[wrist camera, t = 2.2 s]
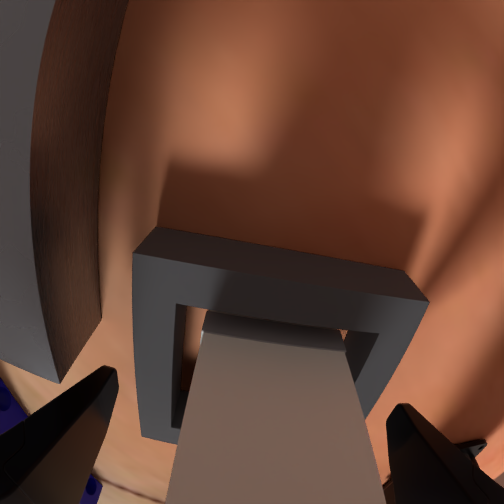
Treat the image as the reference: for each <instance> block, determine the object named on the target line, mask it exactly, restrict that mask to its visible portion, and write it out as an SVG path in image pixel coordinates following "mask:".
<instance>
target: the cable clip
mask: <svg viewBox="0 0 504 504" xmlns="http://www.w3.org/2000/svg"><path fill="white" fill-rule="evenodd" d="M27 417H28V416H27V415H26V413H25V412H24V411H23V409H22V408H21V407H20V405H19V404H18V403H17V401H16V400H15V398H14V397H13V396H12V394H11V393H10V391H9V390H8V388H7V387H6V385H5V384H4V382H3V381H2V379H1V378H0V435H1V434H2V433H4V432H6V431H7V430H9V429H10V428H12V427H14V426H15V425H17V424H18V423H19V422H21V421H24V419H26V418H27ZM102 487H103V486H102V485H101V484H100V483H99V482H98V481H97V480H96V479H95V478H94V477H93V476H92V475H91V474H90V476H89V479H88V481H87V484H86V487H85V489H84V492H83V495H82V498H81V500H80V503H79V504H97V502H98V499H99V496H100V493H101V490H102Z"/></svg>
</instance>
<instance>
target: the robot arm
mask: <svg viewBox="0 0 504 504" xmlns="http://www.w3.org/2000/svg"><path fill="white" fill-rule="evenodd" d="M118 390H119V384H118V377H117V370H116V369H115V368H113V367H110V366H106V365H103V366H101V367H100V368H98V369H97V370H95V371H94V372H92V373H91V374H90V375H88V376H87V377H85V378H84V379H82V380H81V381H79V382H78V383H77V384H75V385H74V386H72V387H71V388H69V389H68V390H66V391H65V392H63V393H62V394H61V395H59V396H58V397H56V398H55V399H53V400H52V401H50V402H49V403H47V404H46V405H45V406H43V407H42V408H40V409H39V410H37V411H36V412H34V413H33V414H31V415H30V416H28V417H27V418H26V419H24V421H21V422H19V423H18V424H17V425H15V426H14V427H12V428H10V429H9V430H7V431H6V432H4V433H2V434H1V435H0V504H79V503H80V500H81V498H82V495H83V492H84V489H85V487H86V484H87V481H88V479H89V476H90V474H91V471H92V468H93V466H94V463H95V461H96V458H97V456H98V453H99V451H100V448H101V446H102V443H103V441H104V438H105V436H106V433H107V430H108V427H109V423H110V419H111V416H112V412H113V408H114V405H115V401H116V398H117V394H118ZM386 430H387V442H388V456H389V465H390V471H391V477H392V479H391V480H390V481H389V482H388V483H387V484H386V485H385V486H384V487H383V492H384V496H385V500H386V504H504V488H503V487H502V486H500V485H499V484H498V483H496V482H495V481H494V480H493V479H491V478H490V477H489V476H488V475H487V474H485V473H484V472H483V471H482V470H481V469H480V468H479V465H478V463H477V461H476V459H475V457H476V456H477V455H478V454H479V453H480V452H481V451H482V450H483V449H484V448H485V447H486V445H487V442H486V440H485V439H482V440H478V441H474V442H469V443H464V444H460V445H454V444H453V443H451V442H450V441H449V440H448V439H447V438H446V437H445V436H444V435H443V434H442V433H441V432H440V431H438V430H437V429H436V428H435V427H434V426H433V425H432V424H431V423H430V422H429V421H428V420H427V419H425V418H424V417H423V416H422V415H421V414H420V413H419V412H418V411H417V410H416V409H415V408H414V407H413V406H411V405H410V404H408V403H399V404H397V405H396V406H395V408H394V409H393V411H392V412H391V414H390V415H389V417H388V418H387V421H386Z"/></svg>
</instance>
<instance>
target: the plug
mask: <svg viewBox="0 0 504 504" xmlns="http://www.w3.org/2000/svg"><path fill="white" fill-rule="evenodd" d="M345 353H346V348H345V345H344V342H343V339H342V336H341V333H340V330H337V329H334V328H326V327H318V326H311V325H303V324H296V323H289V322H282V321H275V320H269V319H262V318H256V317H250V316H243V315H237V314H231V313H226V312H220V311H214V310H209V311H207V312H206V316H205V320H204V324H203V328H202V332H201V341H200V348H199V353H198V357H197V361H196V365H195V369H194V374H193V378H192V382H191V386H190V391H189V395H188V400H187V404H186V408H185V413H184V417H183V422H182V426H181V431H180V435H179V440H178V444H177V449H176V454H175V458H174V463H173V468H172V473H171V477H170V482H169V487H168V492H167V497H166V502H165V504H386V500H385V496H384V492H383V488H382V484H381V480H380V475H379V472H378V468H377V464H376V460H375V456H374V452H373V448H372V445H371V441H370V437H369V434H368V430H367V426H366V423H365V419H364V416H363V412H362V409H361V405H360V402H359V398H358V395H357V392H356V388H355V385H354V382H353V378H352V375H351V372H350V368H349V365H348V362H347V359H346V356H345Z"/></svg>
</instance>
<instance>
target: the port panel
mask: <svg viewBox="0 0 504 504" xmlns="http://www.w3.org/2000/svg"><path fill="white" fill-rule="evenodd" d="M127 3H128V0H0V359H1V360H3V361H5V362H7V363H10V364H12V365H14V366H16V367H18V368H21V369H23V370H25V371H28V372H30V373H32V374H35V375H37V376H40V377H42V378H45V379H47V380H50V381H52V382H55V383H58V384H60V383H61V382H62V380H63V379H64V377H65V375H66V374H67V372H68V371H69V369H70V367H71V366H72V364H73V363H74V361H75V359H76V358H77V356H78V355H79V353H80V352H81V350H82V349H83V347H84V346H85V344H86V342H87V341H88V339H89V338H90V336H91V335H92V333H93V332H94V330H95V329H96V327H97V326H98V324H99V323H100V322H101V310H100V296H99V278H98V239H97V229H98V190H99V172H100V158H101V147H102V137H103V128H104V119H105V112H106V104H107V98H108V91H109V85H110V79H111V74H112V68H113V63H114V58H115V53H116V48H117V44H118V39H119V35H120V30H121V26H122V22H123V18H124V15H125V11H126V7H127Z"/></svg>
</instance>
